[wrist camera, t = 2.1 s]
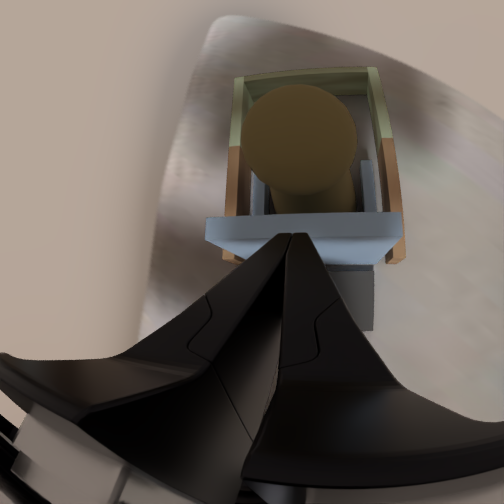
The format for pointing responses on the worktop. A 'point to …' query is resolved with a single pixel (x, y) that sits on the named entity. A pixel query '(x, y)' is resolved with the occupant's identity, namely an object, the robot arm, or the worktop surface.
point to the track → (336, 84)
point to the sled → (313, 227)
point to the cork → (302, 149)
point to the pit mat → (357, 295)
